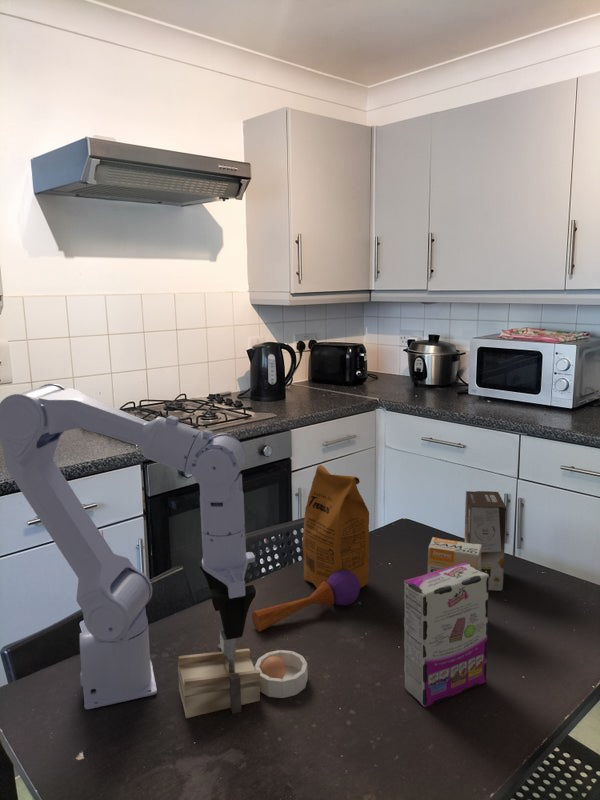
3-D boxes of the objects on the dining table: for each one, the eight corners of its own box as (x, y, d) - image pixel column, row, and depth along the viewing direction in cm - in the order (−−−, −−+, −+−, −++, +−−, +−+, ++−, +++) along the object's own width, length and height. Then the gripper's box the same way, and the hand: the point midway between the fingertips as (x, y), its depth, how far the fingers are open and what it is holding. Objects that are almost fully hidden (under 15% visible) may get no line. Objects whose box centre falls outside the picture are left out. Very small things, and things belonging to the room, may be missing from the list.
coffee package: (336, 564, 124) (335, 458, 121) (376, 587, 114) (376, 473, 110) (295, 577, 119) (292, 467, 115) (333, 603, 109) (331, 483, 105)
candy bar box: (462, 664, 91) (466, 560, 88) (487, 683, 86) (491, 574, 84) (400, 688, 86) (402, 578, 83) (423, 709, 81) (426, 594, 78)
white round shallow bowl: (264, 702, 83) (263, 685, 83) (250, 671, 90) (249, 656, 90) (314, 690, 86) (313, 674, 85) (297, 661, 92) (296, 646, 92)
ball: (275, 692, 86) (260, 677, 85) (268, 678, 89) (254, 664, 88) (293, 674, 86) (279, 660, 85) (286, 661, 89) (272, 646, 88)
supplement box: (425, 620, 103) (426, 547, 101) (430, 606, 107) (431, 535, 105) (476, 630, 100) (478, 554, 98) (479, 615, 104) (482, 542, 102)
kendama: (245, 599, 103) (344, 562, 112) (252, 634, 103) (350, 594, 113) (260, 608, 98) (363, 568, 107) (267, 644, 98) (369, 602, 108)
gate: (226, 677, 83) (224, 643, 82) (219, 660, 86) (218, 628, 85) (237, 674, 83) (236, 641, 82) (231, 658, 87) (229, 625, 86)
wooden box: (187, 724, 79) (185, 688, 78) (177, 685, 87) (175, 651, 86) (263, 706, 83) (262, 670, 82) (247, 669, 91) (246, 636, 90)
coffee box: (504, 591, 112) (507, 507, 109) (467, 590, 113) (470, 506, 110) (495, 569, 121) (498, 490, 118) (462, 567, 122) (464, 490, 119)
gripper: (267, 544, 76) (271, 644, 78) (240, 506, 90) (244, 592, 92) (210, 553, 74) (216, 656, 76) (191, 512, 87) (196, 601, 90)
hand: (227, 622), depth 84 cm, fingers open, 7 cm apart
